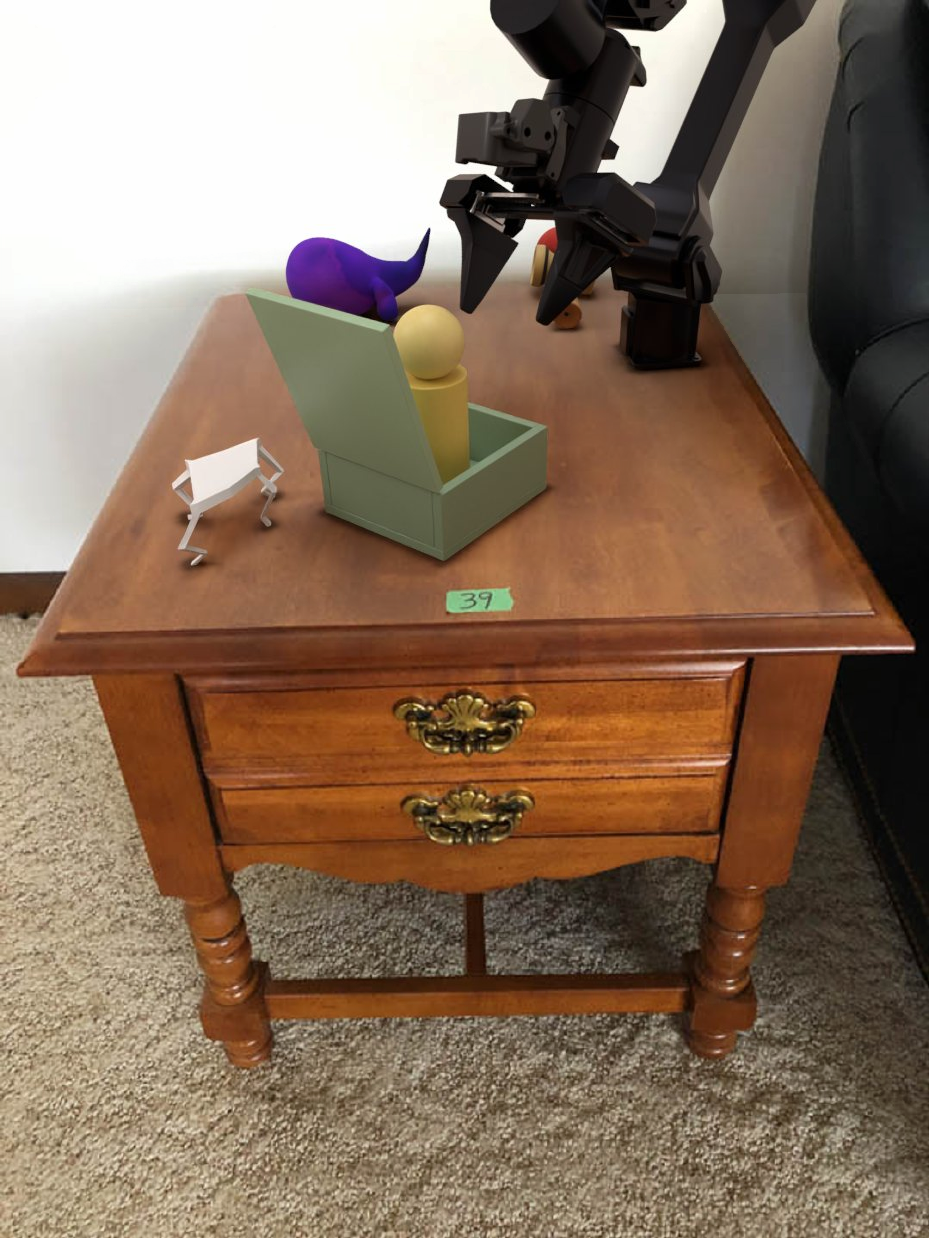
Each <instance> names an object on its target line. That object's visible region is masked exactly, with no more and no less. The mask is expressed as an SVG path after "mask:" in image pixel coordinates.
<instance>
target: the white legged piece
mask: <svg viewBox="0 0 929 1238" xmlns="http://www.w3.org/2000/svg"><path fill="white" fill-rule="evenodd" d="M260 458H261V459H262V460H263V461H264V462H265V463H267V464H268V465H269V466H270V467H271V468H272V469H273V470H274V471H275V473H273V475H272V476H271V478H270V479H268V478H267V477H266V476H265V475H263V473H262V469H261V468H262V467H261V466H260ZM184 463H185V467H186V469H185V470H184V471H183V472H182V473H181V474H180V475H179V476H178V477H177V478H175V480H174V481H173V482H172V483H171V486H172V490H173V491H174V492H175V494H176V495H178V497H179V498H181V499H182V501H184V502H185V504H187V506H188V507H189V509H190V514H187V519H188V521H189V524H188V525H187V528H186V530H185V533H184V534H183V537H182V539H181V540H180V542H179V544H178V546H177V550H178V551H183V552H187V553H192V554H196V555H198V556H197V557H195V558H194V559H193V560H192V561H191V563H190V566H196V565H198V564H199V563H200V562H201V561H202V560H203V559H204V558H205V556H206V555H208V550H206V549H203V548H200V547H196V546H193V545H190V544H188V543H189V541H190V538H191V536H192V534H193V531H194V530H195V528H196V526H197V524H198V522H199V521H200V518H203V517H204V513H203V512H205V511H207V510H209V509H212V508H214V507H215V506H217V505H219V504H221V503H223V502H225V501H228V500H229V499H231V498H233V497H234V496H235V495H237V494H238V493H240V492H241V491H242V490H243V489H244V488H246V486H248V485H249V484H251V483H252V481H253V480H255V479H256V478H258V479H259V481H261V482H262V484H263V485H264V486H263V487H262V489H261V490H260V493H261V494H262V495H264V496H265V497H268V498H267V500H266V503H265V505H264V507H263V510H262V512H261V515H260V520H261V521H262V522H263V524H264V525H265V526H266V527H271V526H272V521H271V520H270V519H269V518H268V517H267V516H266V513H267V511H268V510H269V507H271V504H272V502H273V500H274V499H276V495H277V493H278V487H277V486H276V485H275V484H274V483H275V482H276V481H277V479H279V478H280V477H281V475H283V473H284V471H285V469H284V468H283V467H282V465H280V463H278V462H277V460H276V459H275V458H274V457H273V455H271V454H270V452H268V451H267V449H265V447H264V446H263V445H262V442H261V438H260V437H257V438H253V439H250V440H247V441H244V442H242V443H239V444H236V445H234V446H231V447H229V448H226V449H224V450H220V451H217V452H214V453H212V454H208V455H204V456H202V457H199V458H196V459H184ZM189 483H191V489H192V496H193V499H192V498H191V496H190V495H189V494H188V493H187V492H186V490H185V489H184V487H186V486H187V485H188V484H189Z"/></svg>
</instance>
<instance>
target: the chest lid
mask: <svg viewBox="0 0 929 1238" xmlns="http://www.w3.org/2000/svg"><path fill="white" fill-rule="evenodd" d="M244 294H245V297H246V299H247V301H248V303H249V306H250V307H251V310H252V313H253V314H254V316H255V319H256V321H257V323H258V325H259V328H260V330H261V332H262V334H263V337H264V339H265V341H266V344H267V346H268V348H269V350H270V352H271V355H272V357H273V359H274V362H275V364H276V366H277V368H278V371H279V373H280V375H281V377H282V379H283V382H284V383H285V386H286V388H287V391H288V393H289V395H290V398H291V399H292V401H293V403H294V406H295V408H296V410H297V413H298V415H299V417H300V419H301V422H302V424H303V426H304V428H305V431H306V433H307V435H308V437H309V439H310V442H311V444H312V446H313V448H315V449H317V450H318V449H320V450H323V451H325V452H328V453H331V454H333V455H336V456H339V457H341V458H344V459H347V460H349V461H352V462H355V463H357V464H360V465H363V466H365V467H368V468H371V469H373V470H376V471H379V472H381V473H384V474H387V475H389V476H392V477H395V478H397V479H400V480H403V481H405V482H408V483H411V484H413V485H416V486H419V487H421V488H424V489H427V490H429V491H432V492H435V493H438V492H439V491H440V490H441V489H442V488H443V484H442V481H441V478H440V475H439V472H438V469H437V466H436V463H435V460H434V457H433V454H432V451H431V448H430V445H429V442H428V439H427V436H426V433H425V430H424V427H423V424H422V421H421V418H420V415H419V412H418V409H417V406H416V403H415V400H414V397H413V394H412V391H411V388H410V385H409V382H408V379H407V376H406V373H405V370H404V367H403V364H402V360H401V357H400V354H399V351H398V348H397V345H396V342H395V339H394V336H393V334H394V332H393V330H392V327H391V325H390V324H388V323H385V322H382V321H378V320H374V319H370V318H367V317H363V316H361V315H358V316H356V315H352V314H349V313H345V312H341V311H338V310H334V309H331V308H327V307H323V306H320V305H316V304H312V303H309V302H305V301H301V300H298V299H294V298H292V297H291V296H286V295H284V294H283V295H282V294H280V293H275V292H272V291H268V290H265V289H261V288H258V287H254V286H251V287H250V288H248V290H246V292H245V293H244Z"/></svg>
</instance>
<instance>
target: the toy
mask: <svg viewBox="0 0 929 1238" xmlns="http://www.w3.org/2000/svg"><path fill="white" fill-rule="evenodd" d="M431 231H432V230H431V227H428V228H427V229H426V232H425V234H424V235H423V238H422V239H421V241H420V243H419V246H418V247H417V250H416V251H415V253H414V254H413V256H411V257H410V258H408V259H407V260H386V259H381V258H378V257H375V256H372V255H370V254H368V253H366V252H365V251H363V250H362V249H361V248H359V247H356V246H354V245H351V244H349V243H347V242H345V241H342V240H339V239H336V238H331V237H325V236H316V237H309V238H306V239H303V240H301V241H300V242H299V243H297V244H296V245H295V246H294V247H293V248H292V250H291V251H290V253H289V255H288V258H287V261H286V265H285V279H286V285H287V288H288V291H289V294H290V297H291V298H294V299H298V300H301V301H305V302H309V303H312V304H316V305H320V306H323V307H327V308H331V309H334V310H338V311H341V312H345V313H349V314H352V315H356V316H361V315H363V314H364V313H367V312H369V311H370V310H372V309H373V308H375V307H376V313H377V315H378V317H379V318H381V319H382V320H383V321H385V322H392V321H394V320H396V319H397V318H398V316H399V306H398V302H397V299H396V298H397V297H399V296H400V295H402V294H404V293H406V292H407V291H408V290H409V289H410V288H412V287H413V286H414V285H415V284H416V283H418V281H419V280H420V278H421V276H422V274H423V271H424V267H425V265H426V260H427V259H426V258H427V254H428V249H429V245H430V238H431V237H430V236H431Z"/></svg>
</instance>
